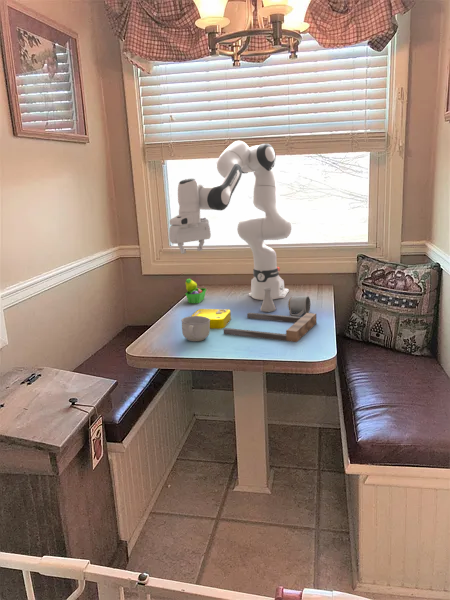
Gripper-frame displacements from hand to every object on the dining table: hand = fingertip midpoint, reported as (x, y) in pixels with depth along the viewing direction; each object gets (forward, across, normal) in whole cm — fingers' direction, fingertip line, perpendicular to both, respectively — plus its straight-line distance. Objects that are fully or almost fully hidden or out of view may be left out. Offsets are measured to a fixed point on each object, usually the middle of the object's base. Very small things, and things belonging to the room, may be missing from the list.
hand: (191, 252), depth 216 cm
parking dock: (+29, -8, +35) cm, 47 cm away
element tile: (+30, 0, +10) cm, 31 cm away
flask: (+29, -28, +18) cm, 44 cm away
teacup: (+30, +19, +21) cm, 42 cm away
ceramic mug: (+29, -31, +32) cm, 53 cm away
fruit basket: (+28, -21, -23) cm, 42 cm away
